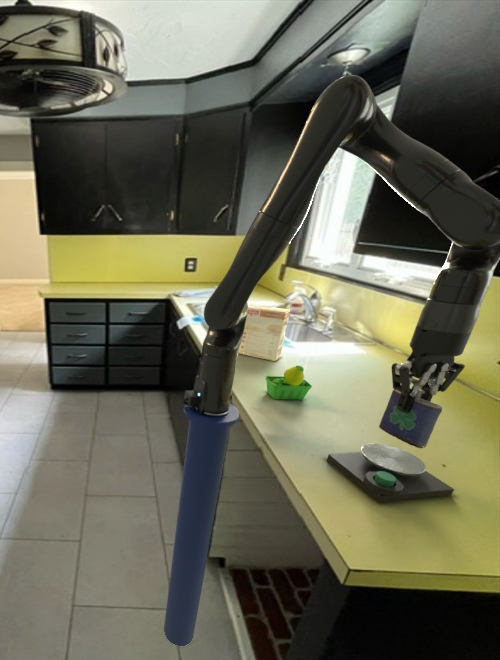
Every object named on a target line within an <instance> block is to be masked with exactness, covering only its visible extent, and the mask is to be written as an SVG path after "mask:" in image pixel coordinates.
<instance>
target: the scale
mask: <svg viewBox="0 0 500 660" xmlns="http://www.w3.org/2000/svg"><path fill="white" fill-rule="evenodd" d="M326 461H327V462H329V464H331V465H332V466H333V467H334V468H336V469H337V470H338V471H339V472H340V473H342V474H343V475H344V476H346V477H347V478H348V479H349V480H350V481H352V482H353V483H354V484H355V485H357V487H358V488H360V489H362V490H363V491H364V493H366V494H367V495H369V496H370V497H371V498H372V499H373V500H374V501H376V503H378V504H381V503H392V502H400V501H401V502H402V501H411V500H421V499H431V498H432V499H433V498H440V497H441V498H442V497H450V496H451V497H452V495H453V493H454V491H455V488H454V487H452V486H450V485H448V484H447V483H445V482H444V481H442V480H441V479H440V478H437V477H436V476H435V475H433V474H431V473H430V472H429V471H427V470H425V472H424V473H423V474H422V475H419V476H404V475H399V474H395V473H391V472H388V471H385V470H383V469H380V468H378V467H376V466H374V465H373V464H371V463H370V462H368V461H367V460H366V459H365V458H364V457H363V456H362V455H361V451H352V452H351V451H350V452H339V453H338V452H337V453H328V455H327V458H326ZM379 471H383V472H387V473H390V474H392V475H393V476H394V477H395V478H396V480H395V483H394V485H393V487H387V486H383V485H381V484H379V483H377V482H376V481H375V480H374V479H375V476H376V474H377V472H379Z"/></svg>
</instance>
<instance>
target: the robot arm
mask: <svg viewBox="0 0 500 660" xmlns="http://www.w3.org/2000/svg"><path fill="white" fill-rule="evenodd" d="M338 149H340V150H343V151H344V152H347V153H348V154H351V155H352V156H354V157H356V158H358V159H359V160H361V161H362V162H364V163H365V164H367V165H368V166H369V167H370V168H372V170H374V171H375V172H376V174H378V175H379V176H380V177H381V178H382V179H383V180H384V181H385V182H386V183H387V184H388V186H390V187H391V189H393V190H394V192H396V193H397V194H398V195H399V196H400V197H402V198H403V199H404V200H405V201H406V202H408V204H409V205H411V206H412V207H414V208H415V209H416V210H417V211H419V212H420V213H421V214H423V215H425V216H426V217H428V219H430V221H431V222H432V223H433V224H434V225H435V226H436V227H437V229H438V230H439V231H441V232H442V233H443V235H445V237H446V238H447V239H449V240H450V241H451V246H450V249H449V251H448V254H447V257H446V259H445V261H444V264H443V266H442V267H441V268H440V270H439V271H438V273H437V275H436V277H435V279H434V281H433V284H432V286H431V289H430V292H429V295H428V298H427V299H426V302H425V304H424V306H423V307H422V310H421V311H420V315H419V317H418V320H417V322H416V325H415V328H414V331H413V332H412V333H413V334H412V336H411V339H410V342H409V347H410V348H411V353H410V354H409V355H408V357H407V359H406V361H404V362H402V363H397V362H394V363H392V365H391V378H392V379H391V380H392V389H393V390H394V389H395V390H398V391H400V392H401V395H400V398H399V401H398V403H397V409H398V410H400V411H402V412H404V413H409V412H410V411H411V408H412V406H413V403H414V401H415V398H416V396H415V395H416V394H417V392H418V391H419V390H420V391H421V390H423V391H425V393H423V394H422V396H421V397H420V398H422V399H424V400H427V401H429V402H432V399H433V396H436V395H437V394H438V392H441V393H444V392H445V391H446V390H447V389H448V388H449V387H450V386H451V385H452V383H454V381H455V380H456V379H457V378H458V376H459V375H460V374H461V372H463V370H464V369H465V367H466V365H465V364H464V363H460V362H457V361H455V357H459V356H461V355H462V354H463V353H464V351H465V349H466V347H467V344H468V342H469V340H470V337H471V335H472V333H473V330H474V327H475V325H476V323H477V321H478V318H479V316H480V311H481V307H482V304H483V302H484V299H485V297H486V295H487V293H488V290H489V288H490V285H491V283H492V282H491V281H492V280H493V275H494V272H495V270H496V267H497V265H498V263H499V261H500V199H499V198H497V197H495V196H494V195H493V194H491V193H490V192H489V191H487V190H486V189H484V188H483V187H481V186H479V185H478V184H476V183H475V182H473V180H472V179H471V177H470V176H469V175H468V174H467V173H466V172H465V171H464V170H462V169H461V168H460V167H458V166H457V165H456V164H454V163H453V162H452V161H450V160H449V159H448V158H447V157H445V156H444V155H442V153H440V152H438V151H436V150H434V148H431V147H429V146H428V145H426V144H424V143H422V142H420V141H418V140H416V139H414V138H412V137H411V136H409V135H408V134H406V133H405V132H404V131H402V130H401V129H400V128H398V126H396V125H395V124H394V123H393V122H392V121H391V120H390V119H389V118H388V117H387V115H386V114H385V112H383V110H382V109H381V108H380V106H379V105H378V103H377V99H376V96H375V95H374V93H373V91H372V89H371V87H370V85H369V84H368V82H367V81H366V80H365V79H364V78H362V77H361V76H359V75H356V74H348V75H344V76H342V77H339V78H338V79H336V80H335V81H333V82H332V83H330V84H329V85H328V86H327V87H326V88H325V89H324V91H322V93H321V94H320V95H319V97H318V98H317V100H316V101H315V102H314V105H313V106H312V109H311V110H310V113H309V115H308V116H307V119H306V121H305V123H304V126H303V128H302V130H301V132H300V134H299V137H298V139H297V140H296V144H295V146H294V148H293V150H292V152H291V154H290V156H289V158H288V160H287V162H286V164H285V165H284V167H283V169H282V170H281V172H280V174H279V175H278V177H277V179H276V181H275V182H274V184H273V186H272V188H271V190H270V191H269V193H268V195H267V197H266V199H265V201H264V202H263V204H262V205H261V207H260V209H259V211H258V212H257V214H256V215H255V218H254V219H253V221H252V223H251V225H250V226H249V229H248V231H247V232H246V234H245V236H244V238H243V240H242V242H241V244H240V246H239V248H238V250H237V252H236V254H235V256H234V258H233V261H232V263H231V265H230V266H229V269H228V270H227V272H226V273H225V275H224V277H223V278H222V280H221V281H220V283H219V284H218V286H217V287H216V289H215V290H214V292H213V293H212V294H211V295H210V297H209V298H208V299H207V301H206V303H205V305H204V309H203V318H204V319H203V320H204V323H205V324H206V326H208V329H207V332H206V335H205V338H204V339H203V341H202V347H201V356H200V363H199V370H198V375H196V376H195V379H194V386H193V387H194V388H193V389H192V390H184V398H183V400H182V403H183V405H187V406H193V407H194V408H195V410H196V411H197V412H198V413H199V415H205V416H210V417H223V416H226V415H227V414H228V413H229V406H230V404H231V401H232V400H233V395H232V393H233V387H234V381H235V377H236V376H235V375H236V369H237V364H238V359H239V358H238V357H239V354H238V352H239V348H240V345H241V342H242V339H243V334H244V329H245V323H246V318H247V312H248V306H249V305H248V301H249V300H250V298H251V295H252V294H253V293H254V290H255V289H256V287H257V286H258V284H259V283H260V281H261V280H262V278H264V277H265V275H266V274H267V273H269V271H270V269H272V267H273V266H274V265H275V263H276V262H278V260H279V259H280V258H281V256H282V255H283V253H284V252H285V251H286V249H287V248H288V246H289V245H290V244H291V242H292V240H293V239H294V237H295V236H296V234H297V233H298V231H299V230H300V228H301V227H302V224H303V223H304V220H305V219H306V217H307V215H308V212H309V210H310V207H311V205H312V201H313V198H314V196H315V193H316V189H317V188H318V185H319V182H320V179H321V177H322V175H323V173H324V171H325V169H326V167H328V164H329V162H330V161H331V160H332V158H333V156H334V155H335V153H336V151H337V150H338ZM444 379H445V380H444ZM411 384H412V387H411Z"/></svg>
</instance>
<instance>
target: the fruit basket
mask: <svg viewBox="0 0 500 660" xmlns="http://www.w3.org/2000/svg"><path fill="white" fill-rule="evenodd" d="M304 371H305V370H304V367H303V366H301V365H294V366H292V367H290V368H288V369H286V370H285V371H284V373H283V376H278V375H277V376H276V375H275V376H274V375H273V376H272V375H266V376H265V381H266V382H265V383H266V392H267V393H268V394H269V396H271V398H272V399H273V400H298V401H302V400H304V398H305V397H306V395H308V392H309V391H310V390H311V388H312V387H313V385H312V384H310V382H308V381H307V380H306V379H305V373H304Z"/></svg>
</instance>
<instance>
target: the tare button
mask: <svg viewBox="0 0 500 660" xmlns="http://www.w3.org/2000/svg"><path fill="white" fill-rule="evenodd" d="M374 480H375V481H376V482H377V483H379V484H381V485H383V486H387V487H393V485H394V483H395V480H396V478H395V477H394V476H393V475H392V474H390V473H387V472H383V471H379V472H377V474H376V476H375V479H374Z"/></svg>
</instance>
